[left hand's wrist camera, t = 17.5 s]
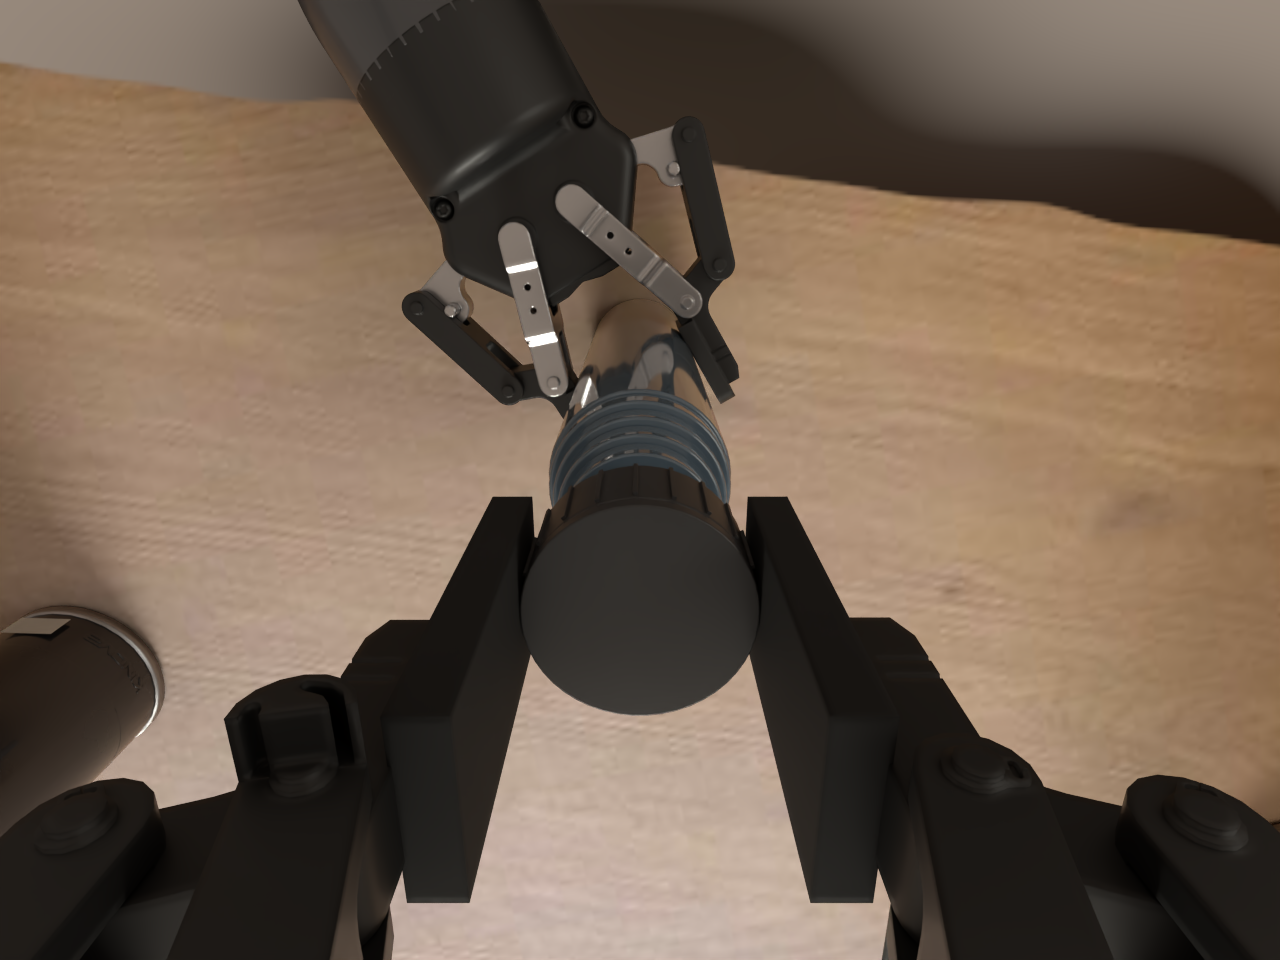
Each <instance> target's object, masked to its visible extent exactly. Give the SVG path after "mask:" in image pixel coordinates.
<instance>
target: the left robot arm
mask: <svg viewBox="0 0 1280 960" xmlns="http://www.w3.org/2000/svg"><path fill="white" fill-rule="evenodd" d="M533 540H534V521H533V502H532V497H492V499H491V501H490V503H489V505H488V507H487V509H486V511H485V513H484V515H483V517H482V519H481V521H480V523H479V525H478V527H477V529H476V531H475V532H474V534H473V536H472V538H471V540H470V542H469V544H468V546H467V548H466V550H465V552H464V554H463V556H462V558H461V560H460V562H459V564H458V566H457V568H456V570H455V571H454V573H453V575H452V577H451V579H450V581H449V583H448V585H447V587H446V589H445V591H444V593H443V595H442V597H441V599H440V601H439V603H438V605H437V607H436V608H435V610H434V612H433V614H432V616H431V618H430V620H390V621H388V622H387V623H385V624H384V625H383V626H381V627H380V628H379V629H377V630H376V631H374V632H373V633H372V634H370V635H369V636H368V637H366V638H365V640H364V641H363V643H362V644H361V646H360V647H359V649H358V651H357V652H356V654H355V655H354V657H353V658H352V663H349V665H348V666H347V668H346V669H345V671H344V672H343V674H342V675H341V678H338V677H335V676H331V675H327V674H322V675H301V676H296V677H291V678H287V679H282V680H279V681H276V682H274V683H271V684H269V685H267V686H264V687H262V688H259V689H257V690H255V691H254V692H252V693H251V694H249V695H248V696H246V697H245V698H244V699H242V700H241V701H239V702H238V703H236V704H235V706H234V707H233V708H232V710H231V711H230V712H229V713H228V715H227V716H226V717H225V718H224V721H225V726H226V730H227V734H228V738H229V743H230V747H231V751H232V756H233V760H234V764H235V768H236V773H237V777H238V781H239V783H238V785H237V788H236V790H235V791H232V792H228V793H225V794H221V795H218V796H215V797H211V798H206V799H202V800H197V801H193V802H189V803H184V804H180V805H175V806H171V807H167V808H162V809H159V808H158V805H157V801H156V798H155V794H154V792H153V791H152V790H151V789H150V788H149V787H148V786H147V785H146V784H145V783H144V782H141V781H136V780H131V779H126V778H119V779H110V780H101V781H95V782H92V783H89V784H86V785H83V786H79V787H76V788H73V789H70V790H67V791H66V792H64V793H62V794H60V795H58V796H56V797H54V798H52V799H50V800H48V801H46V802H44V803H42V804H40V805H39V806H37V807H36V808H35V809H33V810H32V811H31V812H29V813H28V814H27V815H25V816H24V817H23V818H21V819H20V820H19V821H18V822H16V823H15V824H14V825H13V826H12V827H11V828H10V829H9V830H7V831H6V832H5V833H4V834H3V835H2V836H1V837H0V960H391V959H392V950H393V940H394V933H393V925H392V918H391V911H390V903H391V900H392V898H393V895H394V892H395V889H396V886H397V884H398V881H399V878H400V875H401V873H402V871H403V878H404V885H405V892H406V899H407V903H470V899H471V894H472V890H473V886H474V882H475V878H476V874H477V870H478V866H479V862H480V858H481V854H482V850H483V846H484V842H485V838H486V834H487V829H488V825H489V821H490V817H491V813H492V809H493V805H494V801H495V797H496V793H497V789H498V785H499V781H500V777H501V773H502V769H503V764H504V760H505V756H506V752H507V748H508V744H509V740H510V736H511V732H512V728H513V724H514V720H515V716H516V712H517V708H518V704H519V699H520V695H521V691H522V687H523V683H524V679H525V675H526V671H527V667H528V663H529V659H530V655H531V653H530V651H529V649H528V647H527V644H526V642H525V639H524V636H523V632H522V627H521V622H520V598H521V592H522V588H523V584H524V580H525V577H522V575H523V571H524V568H525V565H526V562H527V559H528V556H529V553H530V550H531V547H532V543H533ZM746 540H747V543H748V546H749V549H750V553H751V556H752V559H753V562H754V565H755V568H756V569H753V574H754V577H755V580H756V584H757V588H758V592H759V599H760V622H759V627H758V632H757V636H756V639H755V642H754V644H753V647H752V649H751V651H750V653H749V655H750V659H751V663H752V667H753V671H754V675H755V679H756V683H757V687H758V691H759V695H760V699H761V704H762V708H763V712H764V716H765V720H766V724H767V728H768V732H769V736H770V740H771V744H772V748H773V752H774V756H775V760H776V764H777V769H778V773H779V777H780V781H781V785H782V789H783V793H784V797H785V801H786V805H787V809H788V813H789V817H790V821H791V825H792V829H793V834H794V838H795V842H796V846H797V850H798V854H799V858H800V862H801V866H802V870H803V874H804V878H805V882H806V886H807V890H808V894H809V899H810V903H873V899H874V892H875V885H876V878H877V871H878V869H879V872H880V874H881V877H882V880H883V883H884V885H885V888H886V891H887V894H888V897H889V899H890V902H891V905H890V911H889V918H888V924H887V930H886V937H885V943H884V949H883V956H882V960H1280V824H1277V825H1273V826H1272V825H1271V824H1270V823H1269V822H1268V821H1267V820H1266V819H1264V818H1263V817H1262V816H1260V815H1259V814H1258V813H1256V812H1255V811H1254V810H1252V809H1251V808H1250V807H1248V806H1247V805H1246V804H1244V803H1243V802H1242V801H1240V800H1238V799H1236V798H1234V797H1232V796H1230V795H1228V794H1226V793H1224V792H1222V791H1220V790H1218V789H1216V788H1214V787H1212V786H1209V785H1206V784H1203V783H1199V782H1197V781H1193V780H1190V779H1186V778H1183V777H1174V776H1164V775H1154V776H1149V777H1144V778H1138V779H1137V780H1136V781H1135V782H1134V783H1133V784H1132V785H1131V786H1129V787H1128V788H1127V791H1126V794H1125V798H1124V801H1123V805H1122V806H1119V805H1115V804H1110V803H1106V802H1101V801H1097V800H1092V799H1088V798H1083V797H1079V796H1075V795H1070V794H1066V793H1063V792H1059V791H1056V790H1053V789H1049V788H1046V787H1044V786H1043V784H1042V781H1041V780H1040V778H1039V777H1038V776H1037V774H1036V773H1035V771H1034V770H1033V768H1032V767H1031V765H1030V764H1029V763H1027V762H1026V761H1025V760H1024V759H1022V758H1021V757H1020V756H1019V755H1017V754H1016V753H1015V752H1013V751H1012V750H1011V749H1009V748H1006V747H1004V746H1002V745H1000V744H998V743H996V742H994V741H992V740H990V739H987V738H982V737H980V736H979V734H978V733H977V731H976V730H975V728H974V726H973V725H972V723H971V722H970V720H969V719H968V717H967V716H966V714H965V713H964V711H963V709H962V708H961V706H960V705H959V703H958V702H957V700H956V699H955V697H954V695H953V694H952V692H951V691H950V689H949V688H948V686H947V685H946V683H945V682H944V680H943V679H940V674H939V672H938V671H937V669H936V668H935V666H934V665H933V663H932V661H929V660H928V655H927V654H926V652H925V651H924V649H923V647H922V646H921V644H920V643H919V641H918V640H917V638H916V637H915V635H913V634H912V633H911V632H909V631H908V630H906V629H905V628H904V627H902V626H901V625H899V624H898V623H897V622H895V621H894V620H893V619H891V618H849V616H848V614H847V612H846V610H845V608H844V607H843V605H842V603H841V601H840V599H839V597H838V595H837V593H836V591H835V589H834V587H833V585H832V583H831V581H830V579H829V577H828V575H827V573H826V571H825V570H824V568H823V566H822V564H821V562H820V560H819V558H818V556H817V554H816V552H815V550H814V548H813V546H812V544H811V542H810V540H809V538H808V536H807V534H806V532H805V531H804V529H803V527H802V525H801V523H800V521H799V519H798V517H797V515H796V513H795V511H794V509H793V507H792V505H791V503H790V501H789V499H788V497H748V502H747V521H746Z"/></svg>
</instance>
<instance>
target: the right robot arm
mask: <svg viewBox="0 0 1280 960" xmlns="http://www.w3.org/2000/svg"><path fill="white" fill-rule="evenodd" d="M298 2H299V4H300V6H301V8H302V10H303V12H304V14H305V16H306V18H307V20H308V22H309V24H310V26H311V28H312V29H313V31H314V33H315V34H316V36H317V38H318V39H319V41H320V43H321V44H322V46H323V48H324V49H325V51H326V52H327V54H328V55H329V57H330V58H331V60H332V61H333V63H334V64H335V66H336V67H337V69H338V71H339V72H340V74H341V75H342V77H343V78H344V80H345V81H346V83H347V84H348V86H349V88H350V89H351V91H352V92H353V94H354V95H355V97H356V98H357V100H358V101H359V103H360V104H361V106H362V108H363V109H364V111H365V112H366V114H367V115H368V117H369V118H370V120H371V121H372V123H373V124H374V126H375V128H376V129H377V131H378V132H379V134H380V135H381V137H382V138H383V140H384V141H385V143H386V145H387V146H388V148H389V149H390V151H391V152H392V154H393V155H394V157H395V158H396V160H397V162H398V163H399V165H400V166H401V168H402V169H403V171H404V172H405V174H406V175H407V177H408V178H409V180H410V182H411V183H412V185H413V186H414V188H415V189H416V191H417V192H418V194H419V195H420V197H421V198H422V200H423V202H424V203H425V205H426V206H427V208H428V209H429V211H430V212H431V214H432V215H433V217H434V218H435V220H436V222H437V224H438V226H439V229H440V232H441V236H442V243H443V252H444V256H445V258H446V261H445V262H444V263H443V264H442V265H441V266H440V268H439V269H438V270H437V271H436V272H435V273H434V275H433V276H432V277H431V278H430V279H429V280H428V282H427V283H426V284H425V285H424V286H423V287H422V289H421V290H418V291H416V292H413V293H410V294H408V295H407V296H406V297H405V298H404V300H403V302H402V311H403V313H404V315H405V317H406V318H407V319H408V320H409V321H410V322H411V323H413V324H414V325H415V326H416V327H417V328H418V329H419V330H420V331H421V332H423V333H424V334H425V335H426V336H427V337H428V338H429V339H430V340H431V341H433V342H434V343H435V344H436V345H437V346H438V347H439V348H440V349H441V350H443V351H444V352H445V353H446V354H447V355H448V356H449V357H450V358H451V359H452V360H454V361H455V362H456V363H457V364H458V365H459V366H460V367H461V368H462V369H464V370H465V371H466V372H467V373H468V374H469V375H470V376H471V377H472V378H474V379H475V380H476V381H477V382H478V383H479V384H480V385H481V386H482V387H484V388H485V389H486V390H487V391H488V392H489V393H490V394H491V395H492V396H494V397H495V398H496V399H497V400H498V401H499V402H500V403H502V404H505V405H514V404H516V403H518V402H519V401H522V400H527V399H533V398H544V399H547V400H549V401H550V402H552V403H553V404H554V406H555V407H556V408H557V410H558V411H559V413H560V415H561V416H562V418H563V419H564V417H565V415H566V412H567V409H568V406H569V404H570V401H571V398H572V395H573V393H574V390H575V387H576V384H577V382H578V379H579V378H577V376H576V374H575V373H574V371H573V366H572V362H571V358H570V354H569V350H568V345H567V341H566V337H565V333H564V325H563V318H562V314H561V310H560V306H559V303H560V302H562V301H563V300H565V299H566V298H568V297H569V296H570V295H571V294H572V293H573V292H574V291H575V290H576V289H577V288H578V286H579V285H580V284H581V283H582V282H584V281H587V280H591V279H594V278H598V277H601V276H604V275H605V274H607V273H608V272H610V271H612V270H613V269H615V268H616V267H618V266H619V265H620V266H621V267H622V268H623V269H625V270H626V271H627V272H628V273H629V274H630V275H631V276H633V277H634V278H635V279H636V280H637V281H638V282H640V283H641V284H642V285H644V286H645V287H646V288H648V289H649V290H650V291H651V292H652V293H653V294H654V295H656V296H657V297H658V298H659V299H660V300H661V301H662V302H664V303H665V304H666V305H667V306H668V307H669V308H670V309H672V310H673V312H674V314H675V315H676V317H677V319H678V320H676V321H675V322H676V325H677V328H678V330H679V332H680V334H681V336H682V337H683V339H684V341H685V343H686V344H687V346H688V347H689V349H690V351H691V353H692V355H693V357H694V358H695V360H696V362H697V364H698V365H699V367H700V369H701V371H702V372H703V374H704V376H705V378H706V379H707V381H708V383H709V385H710V386H711V388H712V390H713V392H714V393H715V395H716V397H717V399H718V400H719V402H720V403H721V404H722V403H723V402H725V401H727V400H729V399H730V398H732V397H734V396H735V394H734V392H733V390H732V389H731V387H730V385H729V383H731V382H733V381H734V380H736V379H738V378H739V372H738V365H737V363H736V361H735V359H734V357H733V356H732V354H731V352H730V350H729V348H728V347H727V345H726V343H725V341H724V339H723V338H722V336H721V334H720V332H719V330H718V329H717V327H716V325H715V323H714V321H713V319H712V318H711V316H710V314H709V310H708V302H709V298H710V296H711V295H712V293H713V292H714V291H715V289H716V288H717V287H718V286H719V285H720V283H721V282H722V281H723V280H724V279H726V278H728V277H729V276H730V275H731V274H732V273H733V271H734V268H735V260H734V255H733V251H732V247H731V242H730V238H729V234H728V229H727V225H726V221H725V216H724V212H723V208H722V203H721V199H720V195H719V191H718V186H717V182H716V178H715V173H714V169H713V165H712V160H711V156H710V152H709V147H708V143H707V139H706V134H705V130H704V127H703V125H702V123H701V122H700V121H699V120H698V119H697V118H695V117H691V116H687V117H683V118H681V119H680V120H678V121H677V122H676V123H675V125H673V126H672V127H669V128H665V129H662V130H659V131H656V132H653V133H649V134H646V135H643V136H640V137H637V138H633V139H630V138H629V137H628V136H627V135H626V134H625V133H623V132H622V131H620V130H619V129H617V128H615V127H614V126H613V125H611V124H610V123H609V122H608V121H607V120H606V119H605V118H604V117H603V116H602V114H601V113H600V111H599V109H598V107H597V106H596V104H595V102H594V100H593V98H592V97H591V95H590V93H589V91H588V89H587V87H586V86H585V84H584V82H583V80H582V78H581V77H580V75H579V73H578V71H577V69H576V67H575V66H574V64H573V62H572V60H571V58H570V57H569V55H568V53H567V51H566V49H565V47H564V46H563V44H562V42H561V40H560V38H559V37H558V35H557V33H556V31H555V30H554V28H553V26H552V24H551V22H550V20H549V19H548V17H547V15H546V13H545V11H544V9H543V8H542V6H541V4H540V2H539V1H538V0H298ZM638 165H647V166H650V167H651V168H653V169H654V170H655V172H656V173H657V175H658V178H659V180H660V181H661V182H662V183H663V184H664V185H665V186H668V187H677V186H680V187H681V191H682V195H683V199H684V203H685V207H686V211H687V215H688V219H689V223H690V227H691V231H692V235H693V240H694V244H695V248H696V252H697V256H698V258H697V259H696V261H695V262H694V263H693V264H692V266H691V267H690V268H689V269H688V271H687V272H686V273H685V274H684V275H682V274H681V273H680V272H678V271H677V270H676V269H675V268H674V267H673V266H672V265H671V264H669V263H668V262H667V261H666V260H665V259H664V258H663V257H662V256H661V255H660V254H659V253H658V252H656V251H655V250H654V249H653V248H652V247H651V246H650V245H649V244H648V243H646V242H645V241H644V240H643V239H642V238H641V237H640V236H639V235H637V234H636V233H635V232H634V231H633V230H632V225H633V213H634V201H635V189H636V177H637V166H638ZM629 248H630V249H631V250H629ZM466 278H469V279H471V280H473V281H475V282H478V283H480V284H482V285H485V286H487V287H489V288H492V289H494V290H496V291H499V292H501V293H503V294H506V295H508V296H510V297H513V298H514V299H515V303H516V306H517V310H518V314H519V318H520V322H521V326H522V330H523V333H524V337H525V340H526V342H527V344H528V345H529V348H530V351H531V355H532V359H533V364H527V365H522V364H521V363H520V362H519V361H517V360H516V359H515V358H514V357H513V356H512V355H511V354H510V353H509V352H508V351H507V350H506V349H505V348H503V347H502V346H501V345H500V344H499V343H498V342H497V341H496V340H495V339H494V338H493V337H492V336H491V335H489V334H488V333H487V332H486V331H485V330H484V329H483V328H482V327H481V326H480V325H479V324H478V323H477V322H475V321H474V320H473V319H472V318H471V315H472V313H473V311H474V304H473V301H472V299H471V298H470V297H469V295H468V294H467V292H466V290H465V280H466ZM164 694H165V685H164V679H163V675H162V672H161V669H160V666H159V664H158V662H157V660H156V658H155V657H154V655H153V653H152V652H151V651H150V649H149V648H148V647H147V646H146V644H145V643H144V642H143V641H142V640H141V639H140V638H139V637H138V636H137V635H136V634H135V633H133V632H132V631H131V630H130V629H128V628H127V627H125V626H124V625H122V624H121V623H119V622H117V621H116V620H114V619H112V618H110V617H108V616H106V615H103V614H101V613H98V612H95V611H92V610H88V609H84V608H78V607H70V606H55V607H47V608H42V609H39V610H36V611H33V612H31V613H29V614H27V615H25V616H23V617H22V618H20V619H19V620H17V621H16V622H14V623H13V624H11V625H10V626H8V627H7V628H5V629H4V630H2V631H1V634H0V837H1V836H2V835H3V834H4V833H5V832H6V831H7V830H9V829H10V828H11V827H12V826H13V825H14V824H15V823H16V822H18V821H19V820H20V819H21V818H23V817H24V816H25V815H27V814H28V813H29V812H31V811H32V810H33V809H35V808H36V807H37V806H39V805H40V804H42V803H44V802H46V801H48V800H50V799H52V798H54V797H56V796H58V795H60V794H62V793H64V792H66V791H67V790H70V789H73V788H76V787H79V786H83V785H86V784H89V783H92V782H93V781H94V780H95V779H96V778H97V777H98V775H99V774H100V773H101V772H102V771H103V770H104V769H105V768H106V767H107V766H108V765H109V764H110V763H111V762H112V761H113V760H114V759H115V758H116V757H117V756H118V755H119V754H120V753H121V752H122V751H123V750H124V749H125V748H126V746H127V745H128V744H129V743H130V742H131V741H132V740H133V739H134V738H135V737H137V736H138V735H140V734H141V733H142V732H143V731H144V730H145V729H146V728H147V727H148V726H149V725H150V724H151V723H152V722H153V721H154V720H155V718H156V717H157V715H158V714H159V712H160V710H161V707H162V705H163V701H164Z"/></svg>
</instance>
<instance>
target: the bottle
mask: <svg viewBox="0 0 1280 960" xmlns="http://www.w3.org/2000/svg"><path fill="white" fill-rule="evenodd" d="M676 320H678V319H677V317H676V316H675V315H674V314H673V312H672V311H670V310H669V309H668V308H667V307H665V306H664V305H662V304H660V303H658V302H655V301H652V300H647V299H633V300H628V301H625V302H622V303H620V304H618V305H616V306H615V307H613V308H612V309H611V310H609V311H608V312H607V313H606V314H605V315H604V317H603V318H602V319H601V321H600V323H599V325H598V327H597V329H596V332H595V335H594V337H593V340H592V343H591V346H590V348H589V351H588V354H587V357H586V360H585V362H584V365H583V368H582V371H581V373H580V376H579V379H578V382H577V384H576V387H575V390H574V393H573V395H572V398H571V401H570V404H569V406H568V409H567V412H566V415H565V417H564V420H563V423H562V426H561V429H560V431H559V434H558V437H557V440H556V442H555V445H554V448H553V451H552V455H551V459H550V467H549V494H550V500H551V505H552V508H553V507H554V505H555V504H556V503H557V502H558V500H559V499H560V498H561V497H563V496H564V495H565V494H566V493H567V492H568V488H569V487H570V486H571V485H572V486H573V487H574V486H576V485H577V484H579V483H580V482H582V481H584V480H586V479H587V478H589V477H591V476H594V475H596V474H598V472H599V470H602V469H603V471H607V470H611V469H615V468H620V467H628V466H633V464H634V463H638V465H639V466H652V467H660V468H665V469H669V467H671V468H673V470H674V471H676V472H679V473H681V474H684V475H686V476H689V477H691V478H693V479H694V480H696V481H698V482H700V481H703V482H705V485H706V487H707V488H708V489H710V490H711V491H712V492H713V493H714V494H715V495H716V496H717V497H718V498H719V499H721V500H722V502H723V503H724V504H725V503H728V504H729V499H730V492H731V468H730V460H729V456H728V451H727V448H726V445H725V443H724V440H723V437H722V434H721V432H720V429H719V426H718V423H717V421H716V418H715V415H714V412H713V410H712V407H711V404H710V401H709V399H708V396H707V393H706V390H705V388H704V385H703V382H702V379H701V377H700V374H699V371H698V368H697V366H696V363H695V360H694V357H693V355H692V353H691V351H690V349H689V347H688V346H687V344H686V343H685V341H684V339H683V337H682V336H681V334H680V332H679V330H678V328H677V325H676V322H675V321H676Z"/></svg>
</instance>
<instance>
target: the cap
mask: <svg viewBox="0 0 1280 960" xmlns="http://www.w3.org/2000/svg"><path fill="white" fill-rule="evenodd" d="M753 569H756V568H755V565H754V562H753V559H752V556H751V553H750V549H749V546H748V543H747V540H746V537H745V534H744V531H743V530H742V531H740V530H739V527H738V525H737V522H736V521H735V519H734V517H733V516H732V513H731V509H730V506H729V504H728V503H725V504H724V503H723V502H722V500H721V499H719V498H718V497H717V496H716V495H715V494H714V493H713V492H712V491H711V490H710V489H708V488H707V487H706V485H705V482H703V481H700V482H698V481H696V480H694V479H693V478H691V477H689V476H686V475H684V474H681V473H679V472H676V471H674V470H673V468H671V467H669V469H665V468H660V467H652V466H639V465H638V463H634V464H633V466H628V467H620V468H615V469H611V470H607V471H603V469H602V470H599V472H598V474H596V475H594V476H591V477H589V478H587V479H586V480H584V481H582V482H580V483H579V484H577V485H576V486H574V487H573V486H572V485H571V486H570V487H569V488H568V492H567V493H566V494H565V495H564V496H563V497H561V498H560V499H559V500H558V502H557V503H556V504H555V505H554V507H553V508H552V509H551V510H550V509H548V510H547V511H546V514H545V517H544V520H543V523H542V527H541V530H540V532H539V535H538V538H536V537H534V540H533V543H532V547H531V550H530V553H529V556H528V559H527V562H526V565H525V568H524V571H523V575H522V577H525V580H524V584H523V588H522V592H521V598H520V622H521V627H522V632H523V636H524V639H525V642H526V644H527V647H528V649H529V651H530V653H531V655H532V657H533V659H534V661H535V662H536V664H537V665H538V666H539V668H540V669H541V670H542V672H543V673H544V674H545V675H546V676H547V677H548V678H549V679H550V680H551V681H552V683H554V684H555V685H556V686H557V687H559V688H560V689H561V690H562V691H563V692H565V693H566V694H568V695H570V696H571V697H573V698H574V699H576V700H578V701H580V702H582V703H584V704H586V705H588V706H591V707H594V708H597V709H600V710H603V711H607V712H611V713H616V714H623V715H632V716H648V715H657V714H664V713H669V712H673V711H677V710H680V709H683V708H686V707H689V706H691V705H694V704H696V703H698V702H700V701H702V700H704V699H706V698H707V697H709V696H710V695H712V694H714V693H715V692H716V691H718V690H719V689H720V688H721V687H723V686H724V685H725V684H726V683H727V682H728V681H729V680H730V679H731V678H732V677H733V676H734V675H735V674H736V673H737V672H738V670H739V669H740V668H741V666H742V665H743V663H744V662H745V660H746V659H747V657H748V655H749V653H750V651H751V649H752V647H753V644H754V642H755V639H756V636H757V632H758V627H759V622H760V599H759V592H758V588H757V584H756V580H755V577H754V574H753Z"/></svg>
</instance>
